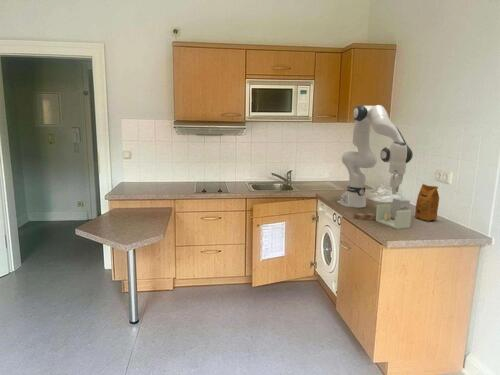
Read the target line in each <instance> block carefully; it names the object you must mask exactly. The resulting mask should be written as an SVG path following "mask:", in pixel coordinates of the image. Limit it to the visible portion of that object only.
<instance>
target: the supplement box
mask: <svg viewBox="0 0 500 375" xmlns="http://www.w3.org/2000/svg"><path fill="white" fill-rule="evenodd" d="M410 203H411V200H410V199H406V198H392V204H391V219H393V220H395V217H396V211H407V210H410V205H411V204H410Z"/></svg>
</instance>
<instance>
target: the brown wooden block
mask: <svg viewBox="0 0 500 375" xmlns="http://www.w3.org/2000/svg"><path fill="white" fill-rule="evenodd" d="M353 218H354V219H355V220H357V221H358V220H360V221H361V220H362V221H375V219H376V213H373V212H372V213H364V212H363V213H361V212H360V213H359V212H355V213H353Z"/></svg>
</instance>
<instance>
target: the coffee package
mask: <svg viewBox="0 0 500 375" xmlns="http://www.w3.org/2000/svg"><path fill="white" fill-rule="evenodd" d="M438 189H439V187H438V186H437V185H427V184H425V183H422V185H421V187H420V190H419V193H418V195H417V198H416V203H415V213H414V218H415V219H420V220H422V221H430V222H431V221H434V220H437V219H438V210H439V205H440V204H439V203H440V195H439V191H438Z"/></svg>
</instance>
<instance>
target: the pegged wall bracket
mask: <svg viewBox="0 0 500 375" xmlns="http://www.w3.org/2000/svg"><path fill="white" fill-rule="evenodd" d="M375 211H376V212H375V214H376V219H375V220H376V222H378V223H380V224H383V225H385V226H388V227H391V228H393V229H396V230H398V229H399V230H401V229H409V228H411V220H412V210H410V209H409V210H407V211H396V217H395V219H393V218H391V213H392V204H390V203H389V204H377V205H376V210H375ZM375 220H374V221H375Z"/></svg>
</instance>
